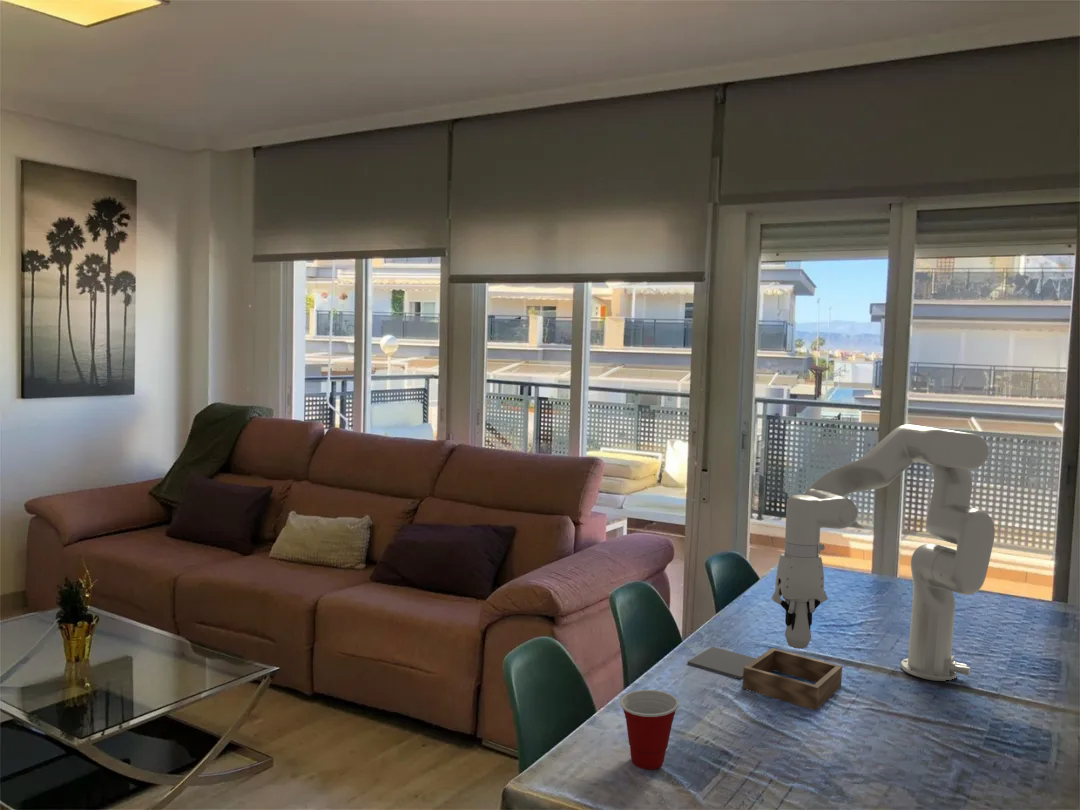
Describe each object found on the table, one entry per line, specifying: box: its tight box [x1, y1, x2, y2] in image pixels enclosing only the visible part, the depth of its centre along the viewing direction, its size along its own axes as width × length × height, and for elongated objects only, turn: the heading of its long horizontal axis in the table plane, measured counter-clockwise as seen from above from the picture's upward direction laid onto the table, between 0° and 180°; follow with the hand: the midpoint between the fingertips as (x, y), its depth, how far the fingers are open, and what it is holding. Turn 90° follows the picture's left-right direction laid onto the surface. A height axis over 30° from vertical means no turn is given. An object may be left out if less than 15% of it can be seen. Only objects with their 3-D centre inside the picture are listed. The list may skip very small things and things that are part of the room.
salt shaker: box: [784, 597, 812, 650], centre depth 196 cm, size 6×6×13 cm
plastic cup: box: [619, 689, 679, 771], centre depth 158 cm, size 11×11×12 cm
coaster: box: [687, 646, 758, 680], centre depth 210 cm, size 14×14×1 cm
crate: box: [741, 647, 843, 711], centre depth 197 cm, size 17×17×5 cm
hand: (798, 627), depth 196 cm, fingers closed on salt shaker, 3 cm apart
